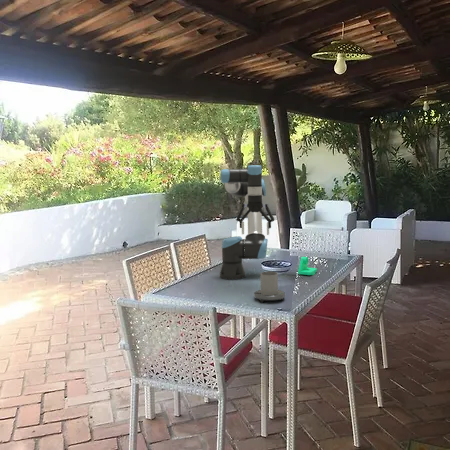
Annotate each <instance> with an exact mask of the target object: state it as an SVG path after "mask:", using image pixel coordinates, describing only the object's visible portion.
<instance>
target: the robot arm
mask: <svg viewBox="0 0 450 450" xmlns="http://www.w3.org/2000/svg"><path fill="white" fill-rule="evenodd" d="M220 182H221V183H222V184H224V189H225V191H226V192H227V193H228V194H230V195H232V196H235V197H239V198H240V197H241V198H242V197H243V198H244V199H245V201H246V202H247V203H242V204H241V208H240V210H239V213H238V215H237V217H236V219H235V221H237V222H239V228H240V229H241V235H245V222H244V221H245V219H246V218H247V234H246V235H245V237H244V238H243V237H242V236H230V237H227V238H224V239H223V240H222V241H221V253H222V254H221V255H222V258H221V259H222V263H221V268H220V270H219V277H220V278H221V279H224V280H239V279H240V280H241V279H243V278H246V271H245V268H244V265H243V260H259V259H265V258H266V256H267V251H268V242H269V241H268V238H266V236H270V229H271V228H272V222H274V221H275V218H274V215H273V214H272V212H271V209H270V208H269V203H263V199H264V197H265V196H267V195H266V194H267V193H266V185H265V180H264V179H263V170H262V165H260V164H259V165H258V164H257V165H252V164H251V165H248V166H247V168H225V169H221V170H220ZM245 208H247V211H246V212H245V213H244V211H245ZM263 208H264V209H265V211H266V212H265V211H264V210H263ZM266 213H267V214H268V215H267V214H266ZM242 215H243V216H242ZM262 217H263V218H264V219H265V220H266V221H267V222H266V235H264V233H263V218H262Z"/></svg>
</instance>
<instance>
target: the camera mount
mask: <svg viewBox="0 0 450 450" xmlns="http://www.w3.org/2000/svg"><path fill="white" fill-rule="evenodd" d="M308 264H309V257H308V256H301V257H300V261H299V266H298V271H297V273H298V275H305V276H306V275H307V276H314V275H316V273H317V271H318V268H315V267H308V266H309V265H308Z"/></svg>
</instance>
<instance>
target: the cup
mask: <svg viewBox="0 0 450 450" xmlns="http://www.w3.org/2000/svg"><path fill="white" fill-rule="evenodd" d="M278 274H279V273H278V271H277V272H276V271H272V270H271V271H270V270H269V271H262V272H260V274H259V275H260V290H261V294H262V295H268V296H271V295H276V294H278V290H279V284H278V283H279V280H278V279H279V277H278V276H279V275H278Z"/></svg>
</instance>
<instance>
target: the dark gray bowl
mask: <svg viewBox="0 0 450 450" xmlns="http://www.w3.org/2000/svg"><path fill="white" fill-rule="evenodd" d="M253 295H254V296H253V297H254V298H255V299H257V300H259V302H260V303H266V302H267V301H279V302H280V301H283V300H284V298H285V297H286V293H285V292H284V291H283V290H280V289H278V294H276V295H271V296H268V295H262V294H261V289H259V290H256V291H255V292H254V294H253Z"/></svg>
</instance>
